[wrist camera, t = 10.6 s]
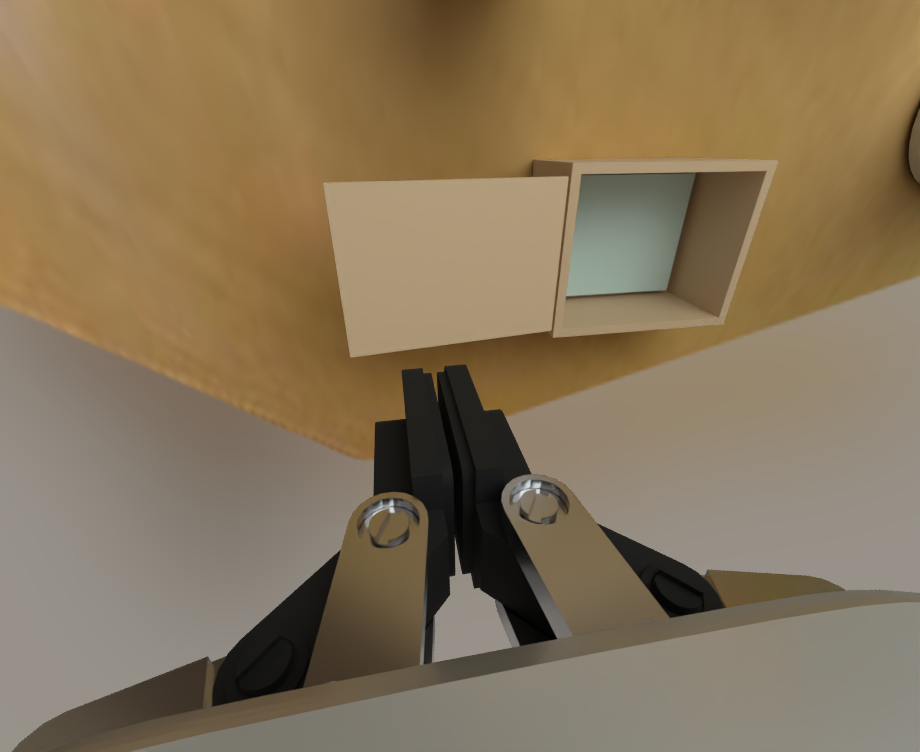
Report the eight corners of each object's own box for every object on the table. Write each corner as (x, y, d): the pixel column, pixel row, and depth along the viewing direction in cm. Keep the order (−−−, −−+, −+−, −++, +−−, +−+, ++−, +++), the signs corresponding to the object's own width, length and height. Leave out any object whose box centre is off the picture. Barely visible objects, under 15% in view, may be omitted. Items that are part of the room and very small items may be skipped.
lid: (323, 183, 20) (323, 182, 20) (350, 357, 25) (349, 353, 25) (568, 176, 23) (563, 176, 24) (551, 330, 28) (547, 327, 29)
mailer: (702, 157, 31) (778, 160, 25) (667, 295, 37) (723, 324, 31) (533, 159, 29) (573, 162, 23) (522, 305, 35) (552, 337, 29)
